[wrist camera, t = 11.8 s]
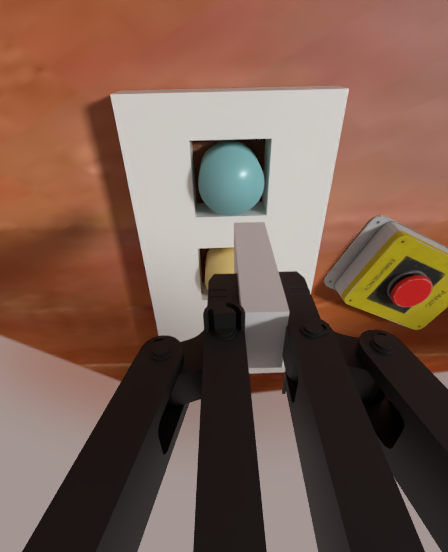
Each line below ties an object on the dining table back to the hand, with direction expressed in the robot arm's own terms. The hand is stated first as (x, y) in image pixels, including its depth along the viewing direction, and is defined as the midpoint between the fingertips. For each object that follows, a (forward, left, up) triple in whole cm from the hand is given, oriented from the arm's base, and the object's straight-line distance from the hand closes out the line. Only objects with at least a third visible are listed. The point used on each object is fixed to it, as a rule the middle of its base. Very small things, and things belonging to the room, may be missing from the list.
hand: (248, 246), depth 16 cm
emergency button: (-18, +12, -14) cm, 26 cm away
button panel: (0, +9, -13) cm, 16 cm away
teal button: (0, 0, -13) cm, 13 cm away
